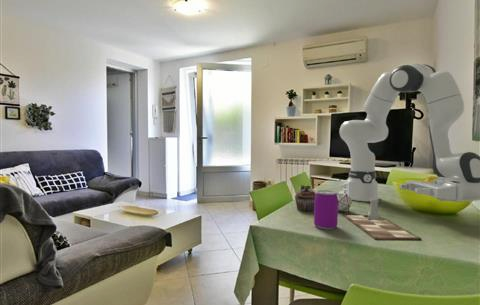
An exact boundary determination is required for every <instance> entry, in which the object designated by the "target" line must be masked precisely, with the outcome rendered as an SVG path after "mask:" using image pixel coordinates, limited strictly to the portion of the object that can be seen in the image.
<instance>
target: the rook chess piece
mask: <svg viewBox="0 0 480 305" xmlns="http://www.w3.org/2000/svg"><path fill="white" fill-rule="evenodd" d="M369 202H370V204H369V205H370V208H369V211H368V213H367V215H368V217H366V218H367V219H369V220H381V219H380V218H379V217H380V216H381V215H380V213H379V210H378V207H379V202H380V199H378V198H376V199H375V198H374V199H373V197H371V199H370V201H369Z"/></svg>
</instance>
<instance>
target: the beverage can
mask: <svg viewBox="0 0 480 305" xmlns="http://www.w3.org/2000/svg"><path fill="white" fill-rule="evenodd" d="M315 193H316V196H315V204H314V211H313V214H314V215H313V224H314V226H316V227H317V229H321V230H327V231H329V230H335V229H336V227H338V220H339V219H338V217H339V216H338V214H339V210H338V197H337V194H338V193H337V192H336V191H334V190H329V189H328V190H327V189H324V190H323V189H321V190H320V189H319V190H317V191H316V192H315Z"/></svg>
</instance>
